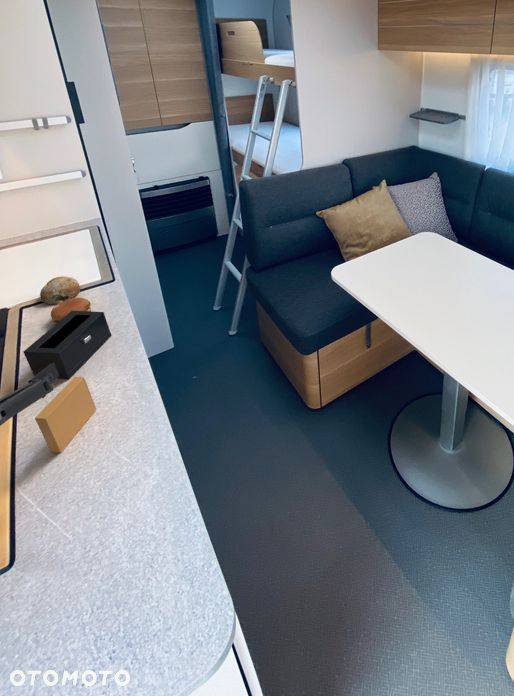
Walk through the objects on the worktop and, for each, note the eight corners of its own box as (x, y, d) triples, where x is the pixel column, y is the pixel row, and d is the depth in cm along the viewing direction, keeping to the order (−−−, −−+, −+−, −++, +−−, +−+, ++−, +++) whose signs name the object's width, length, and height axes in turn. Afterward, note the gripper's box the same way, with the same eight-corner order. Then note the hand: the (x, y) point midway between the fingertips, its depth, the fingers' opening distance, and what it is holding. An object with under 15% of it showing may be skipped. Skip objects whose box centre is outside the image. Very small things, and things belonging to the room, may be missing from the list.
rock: (48, 316, 125) (43, 301, 120) (37, 292, 129) (31, 277, 124) (85, 301, 132) (82, 286, 127) (74, 279, 136) (70, 264, 131)
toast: (50, 452, 81) (34, 418, 77) (87, 408, 90) (74, 376, 86) (61, 453, 81) (45, 418, 77) (96, 409, 90) (84, 376, 86)
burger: (87, 323, 116) (82, 310, 114) (49, 332, 113) (43, 318, 112) (96, 303, 125) (91, 291, 123) (60, 311, 122) (55, 298, 120)
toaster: (34, 377, 98) (23, 351, 95) (80, 334, 112) (71, 310, 109) (71, 379, 98) (61, 353, 95) (113, 335, 112) (105, 311, 108)
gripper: (-193, 535, 51) (-56, 432, 72) (25, 449, 56) (94, 376, 77) (-220, 483, 50) (-74, 394, 71) (3, 401, 55) (79, 339, 76)
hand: (14, 384), depth 74 cm, fingers open, 13 cm apart
